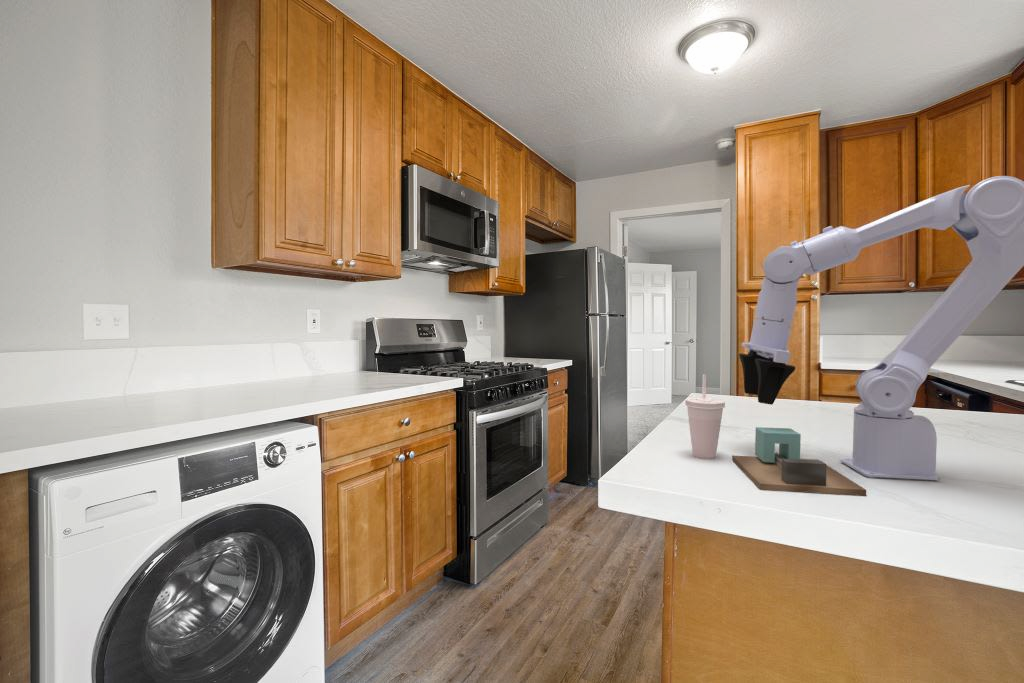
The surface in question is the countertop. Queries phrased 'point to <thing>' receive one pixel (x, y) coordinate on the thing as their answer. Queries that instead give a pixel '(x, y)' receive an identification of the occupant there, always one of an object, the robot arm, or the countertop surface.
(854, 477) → the countertop surface
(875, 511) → the countertop surface
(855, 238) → the robot arm
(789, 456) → the block
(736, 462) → the rail board
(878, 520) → the countertop surface
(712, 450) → the smoothie
